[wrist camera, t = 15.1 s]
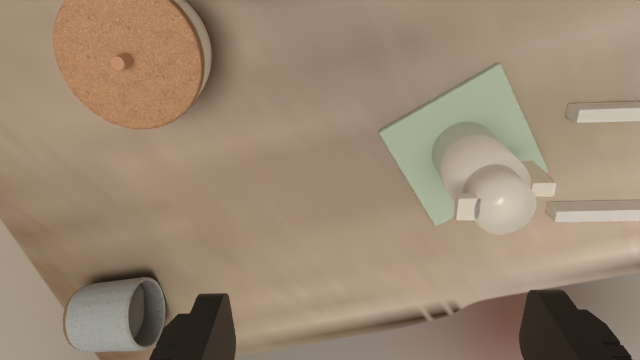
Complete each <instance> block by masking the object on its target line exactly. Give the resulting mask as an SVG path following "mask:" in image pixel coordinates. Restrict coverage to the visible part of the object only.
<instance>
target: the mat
mask: <svg viewBox="0 0 640 360" xmlns="http://www.w3.org/2000/svg"><path fill="white" fill-rule="evenodd" d="M462 122H474V123H478V124H481V125H483V126H484V127H486V128H487V129H488V130H489V131H490V132H491V133H492V134H493V135H494V136H495V137H496V138H497V139H498V140H499V141H500V142H501V143H502V144H503V145H504V146H505V147H506V148H507V149H508V150H509V151H510V152H511V153H512V154H513V155H514V156H515V157H516V158H517V159H518V160H519V161H534V162H535V163H536V164H537V165H538V166H539V167H540V168H541V169H542V170H543V171H545V172H548V171H549V170H548V168H547V166H546V164H545V162H544V159H543V157H542V155H541V153H540V151H539V148H538V146H537V144H536V142H535V139H534V137H533V135H532V133H531V131H530V128H529V126H528V124H527V122H526V120H525V117H524V115H523V113H522V111H521V108H520V106H519V104H518V102H517V100H516V97H515V95H514V93H513V91H512V89H511V86H510V84H509V82H508V80H507V77H506V75H505V73H504V71H503V69H502V66H501V64H500V63H496V64H495V65H493V66H491V67H489V68H488V69H486V70H484V71H482V72H481V73H479V74H477V75H475V76H474V77H472V78H470V79H469V80H467V81H465V82H463V83H462V84H460V85H458V86H456V87H455V88H453V89H451V90H449V91H448V92H446V93H444V94H442V95H441V96H439V97H437V98H435V99H434V100H432V101H430V102H428V103H427V104H425V105H423V106H421V107H420V108H418V109H416V110H414V111H413V112H411V113H409V114H407V115H406V116H404V117H402V118H400V119H399V120H397V121H395V122H393V123H392V124H390V125H388V126H386V127H385V128H383V129H381V130H379V131H378V132H379V134H380V136H381V137H382V139H383V141H384V142H385V144H386V146H387V147H388V149H389V151H390V152H391V154H392V156H393V157H394V159H395V160H396V162H397V164H398V165H399V167H400V169H401V170H402V172H403V174H404V175H405V177H406V179H407V180H408V182H409V184H410V185H411V187H412V189H413V190H414V192H415V194H416V195H417V197H418V198H419V200H420V202H421V203H422V205H423V207H424V208H425V210H426V212H427V213H428V215H429V217H430V218H431V220H432V222H433V223H434V225H435V227H436V226H438V225H440V224H442V223H444V222H446V221H448V220H450V219H452V218H454V206H455V205H454V203H453V201H452V199H451V197H450V195H449V193H448V191H447V189H446V187H445V186H444V184H443V182H442V180H441V178H440V176H439V174H438V172H437V170H436V168H435V167H434V164H433V161H432V149H433V145H434V143H435V141H436V139H437V138H438V136H439V135H440V134H441V133H442V132H443V131H444V130H446V129H447V128H449V127H450V126H452V125H454V124H457V123H462Z"/></svg>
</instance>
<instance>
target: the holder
mask: <svg viewBox="0 0 640 360" xmlns="http://www.w3.org/2000/svg"><path fill="white" fill-rule="evenodd" d="M566 117H568V118H569V119H571V120H573V121H574V122H576V123H593V122H625V121H640V101H631V102H601V103H571V104H568V107H567V112H566ZM546 213H547V214H548V216H549V217H550V218H551V219H552V220H553V221H554V222H595V221H640V200H610V201H567V202H548V203H547V208H546Z"/></svg>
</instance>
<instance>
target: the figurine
mask: <svg viewBox="0 0 640 360" xmlns="http://www.w3.org/2000/svg"><path fill="white" fill-rule="evenodd" d="M432 161H433V164H434V167H435V168H436V170H437V172H438V174H439V176H440V178H441V180H442V182H443V184H444V186H445V187H446V189H447V191H448V193H449V195H450V197H451V199H452V201H453V203H454V205H455V206H454V217H455V219H456V221H458V220H472V221H475V222H477V224H478V225H479V226H480V227H481V228H482V229H483V230H485V231H486V232H489V233H492V234H497V235H503V234H509V233H513V232H515V231H518V230H519V229H521V228H523V227H524V226H525V225H526V224H528V222H529V221H530V220H531V219H532V217H533V216H534V214H535V211H536V207H537V201H536V197H554V193H555V188H556V184H557V183H556V182H555V181H554V180H553V179H552V178H551V177H550V176H549V175H548V174H547V173H546V172H545V171H543V170H542V169H541V168H540V167H539V166H538V165H537V164H536V163H535V162H534V161H519V160H518V159H517V158H516V157H515V156H514V155H513V154H512V153H511V152H510V151H509V150H508V149H507V148H506V147H505V146H504V145H503V144H502V143H501V142H500V141H499V140H498V139H497V138H496V137H495V136H494V135H493V134H492V133H491V132H490V131H489V130H488V129H487V128H486V127H484V126H483V125H481V124H478V123H474V122H462V123H457V124H454V125H452V126H450V127H449V128H447V129H446V130H444V131H443V132H442V133H441V134H440V135H439V136H438V138H437V139H436V141H435V143H434V145H433V149H432Z"/></svg>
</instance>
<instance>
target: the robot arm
mask: <svg viewBox="0 0 640 360" xmlns="http://www.w3.org/2000/svg"><path fill="white" fill-rule="evenodd" d="M519 343H520V349H521V353H522V356H523V358H524V360H632V359H631V355H630V354H629V353H628V352H627V350H626V349H625V348H624V346H623V345H620V341H619V340H618V339H617V337H616V336H615V335H614V334H613V332H612V331H611V330H610V329H609V327H608V326H607V325H606V324H605V323H604V322H602V321H601V320H600V319H598V318H597V317H596V316H594V315H593V314H592V313H590V312H589V311H588V310H578V309H577V308H576V306H575V305H574V303H573V302H572V301H571V299H570V298H569V297H568V295H567V294H566V293H565V292H564V291H563V290H560V289H558V290H530V291H529V293H528V295H527V299H526V304H525V309H524V314H523V318H522V323H521V328H520V333H519ZM235 350H236V336H235V329H234V323H233V318H232V312H231V306H230V300H229V296H228V294H226V293H224V294H199V295H198V296H197V298H196V301H195V303H194V305H193V308H192V310H191V312H190V314H178V315H177V316H176V317H175V318H174V319H173V320H172V321H171V322H170V323H169V324H168V325H167V326H166V327H165V328H164V329H163V331H162V334H161V336H160V338H159V340H158V342H157V344H156V348H154V350H153V352H152V354H151V356H150V359H149V360H234V357H235Z"/></svg>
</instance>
